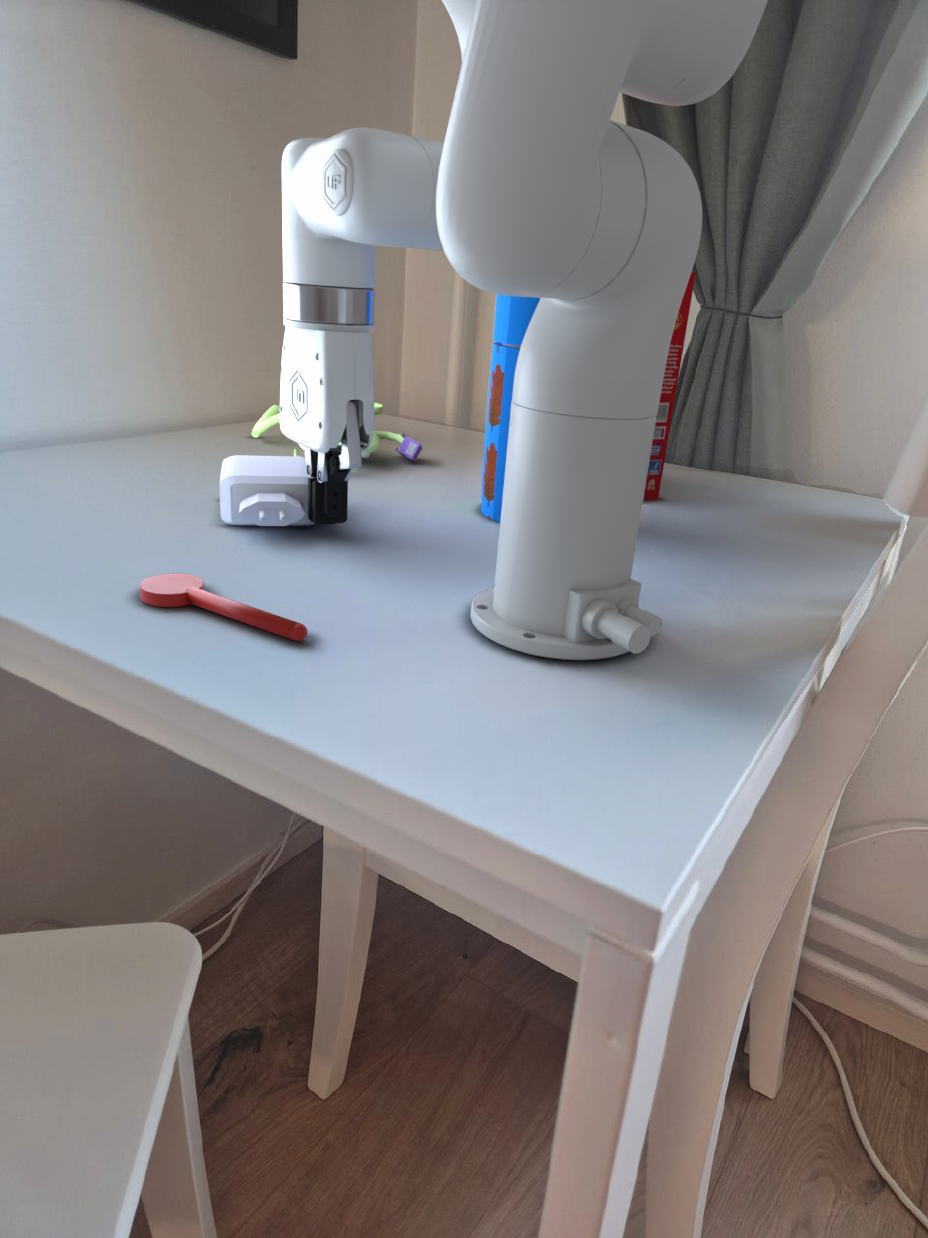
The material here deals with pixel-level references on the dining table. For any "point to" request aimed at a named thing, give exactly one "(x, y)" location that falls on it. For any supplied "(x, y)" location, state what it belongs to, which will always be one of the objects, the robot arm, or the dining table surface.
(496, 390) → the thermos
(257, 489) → the charger
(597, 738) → the dining table surface
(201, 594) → the red flat paddle
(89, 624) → the dining table surface
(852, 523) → the dining table surface
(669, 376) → the food packaging
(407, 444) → the figurine
